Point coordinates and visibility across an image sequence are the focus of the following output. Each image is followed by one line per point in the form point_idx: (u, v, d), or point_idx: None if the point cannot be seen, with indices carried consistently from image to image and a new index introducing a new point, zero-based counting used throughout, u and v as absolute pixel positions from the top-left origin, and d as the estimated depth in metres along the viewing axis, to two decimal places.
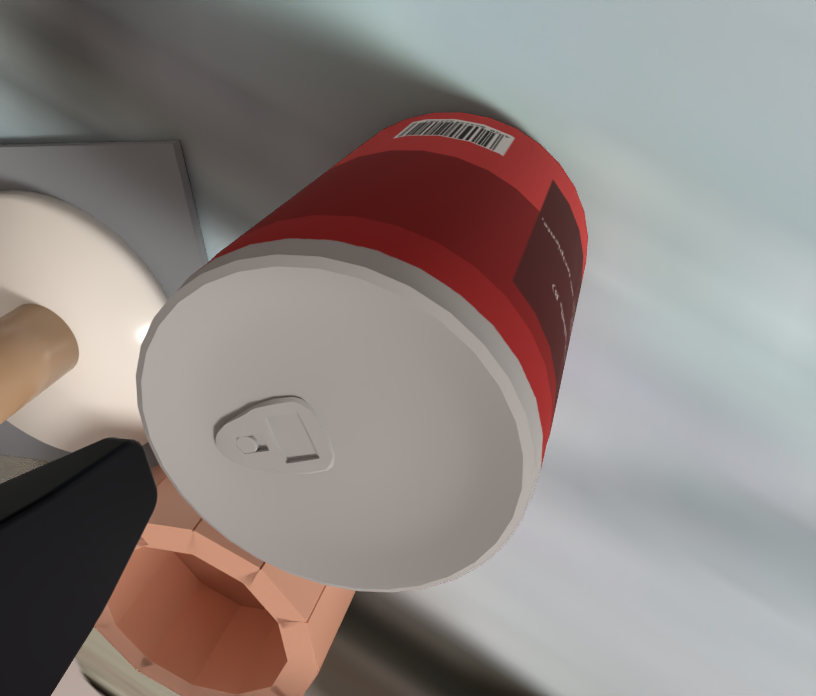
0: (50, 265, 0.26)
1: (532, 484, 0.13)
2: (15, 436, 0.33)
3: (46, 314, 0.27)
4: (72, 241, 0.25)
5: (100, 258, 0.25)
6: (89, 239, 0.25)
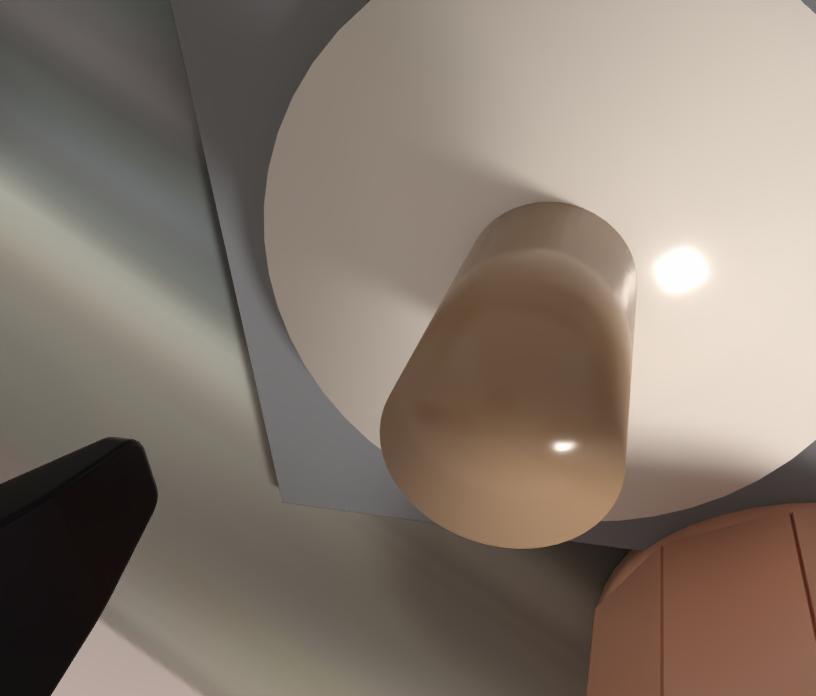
0: (648, 101, 0.11)
1: None
2: (356, 476, 0.18)
3: (598, 223, 0.12)
4: (749, 29, 0.10)
5: None
6: (804, 20, 0.10)
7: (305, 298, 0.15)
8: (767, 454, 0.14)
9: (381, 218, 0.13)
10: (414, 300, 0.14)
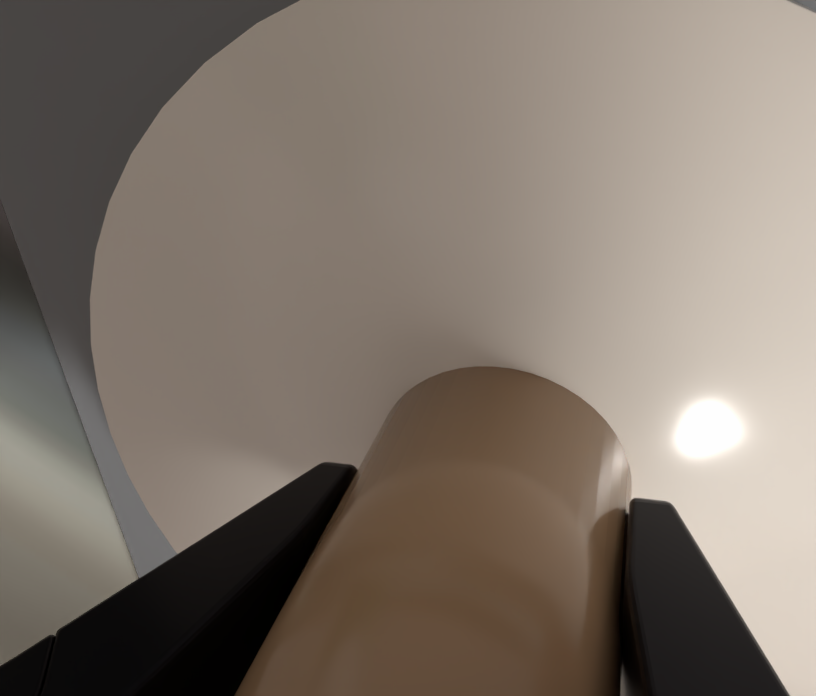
0: (648, 231, 0.07)
1: None
2: None
3: (569, 407, 0.08)
4: None
5: None
6: None
7: (162, 466, 0.10)
8: None
9: (253, 372, 0.09)
10: None
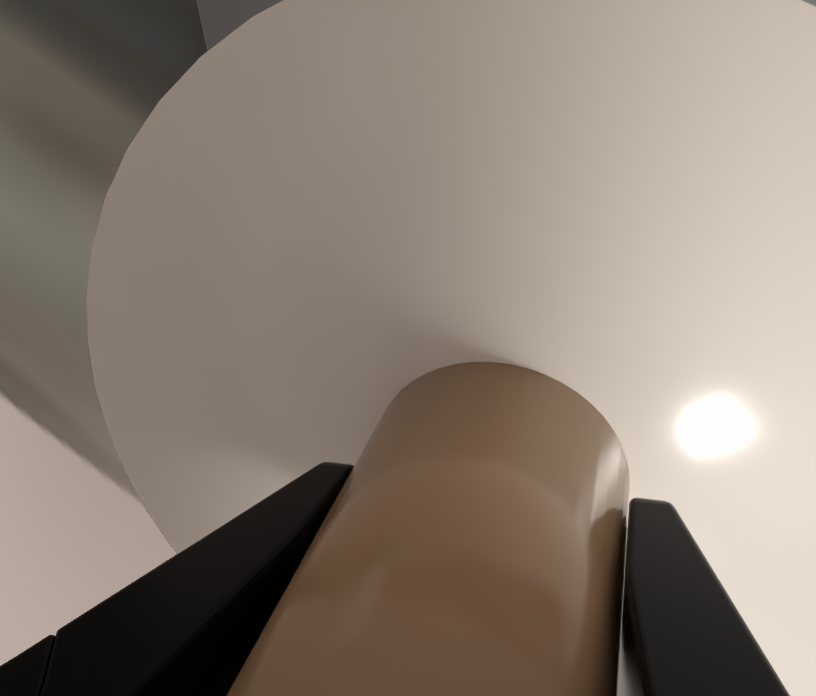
0: (645, 225, 0.07)
1: None
2: None
3: (566, 402, 0.08)
4: None
5: None
6: None
7: (160, 462, 0.10)
8: None
9: (250, 368, 0.09)
10: None
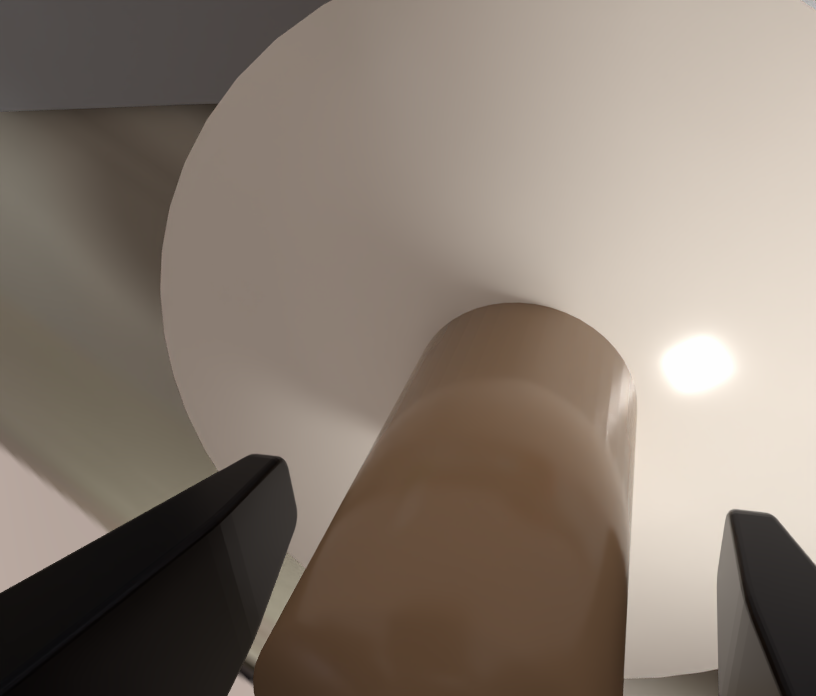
0: (652, 179, 0.08)
1: None
2: (53, 51, 0.16)
3: (584, 335, 0.09)
4: (795, 86, 0.07)
5: None
6: None
7: (220, 404, 0.12)
8: None
9: (306, 314, 0.10)
10: (353, 413, 0.11)
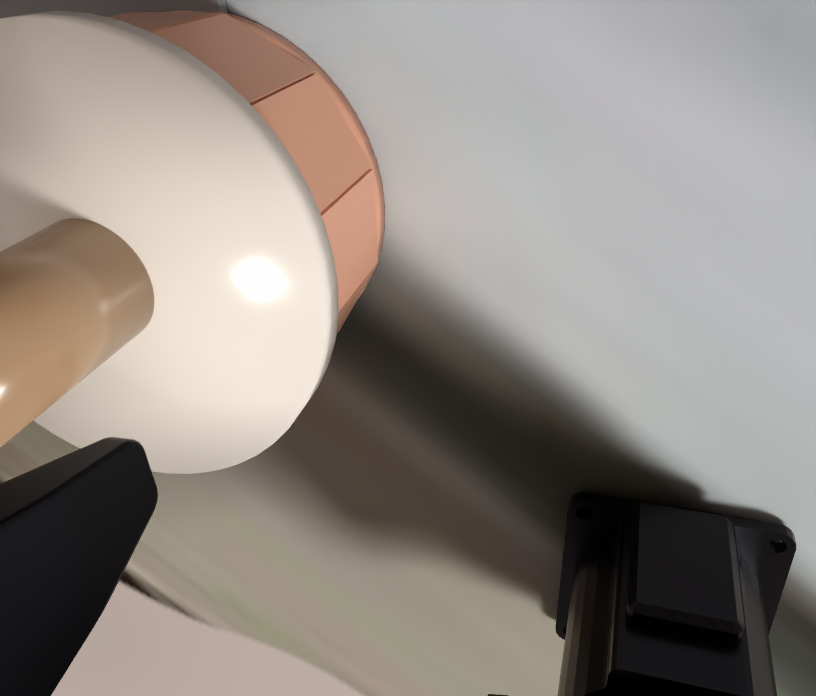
0: (120, 149, 0.15)
1: None
2: None
3: (105, 237, 0.16)
4: (168, 103, 0.14)
5: (219, 137, 0.14)
6: (201, 99, 0.14)
7: None
8: (272, 423, 0.17)
9: None
10: None
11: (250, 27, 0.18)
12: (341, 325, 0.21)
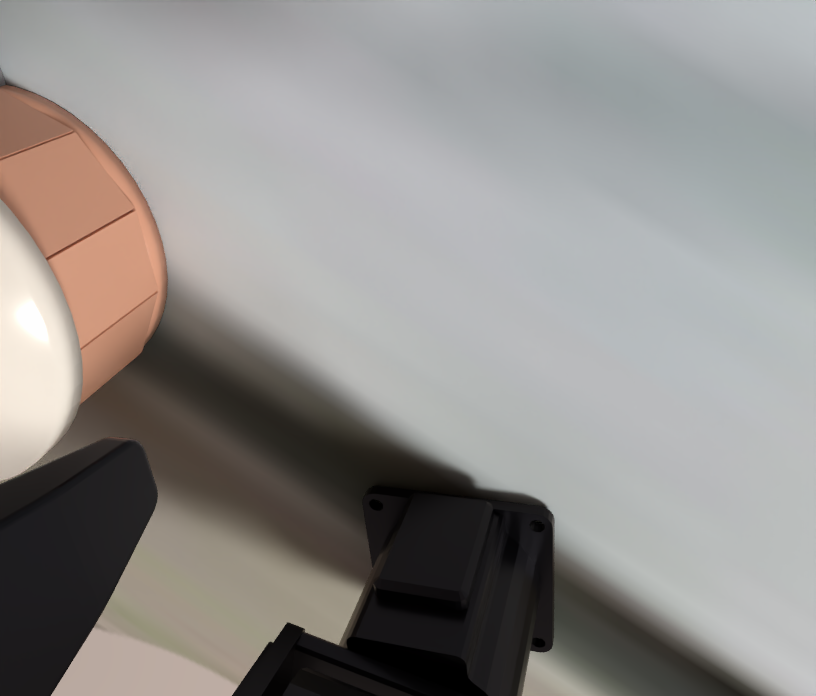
0: None
1: None
2: None
3: None
4: None
5: None
6: None
7: None
8: (38, 434, 0.20)
9: None
10: None
11: (19, 96, 0.22)
12: (138, 347, 0.24)
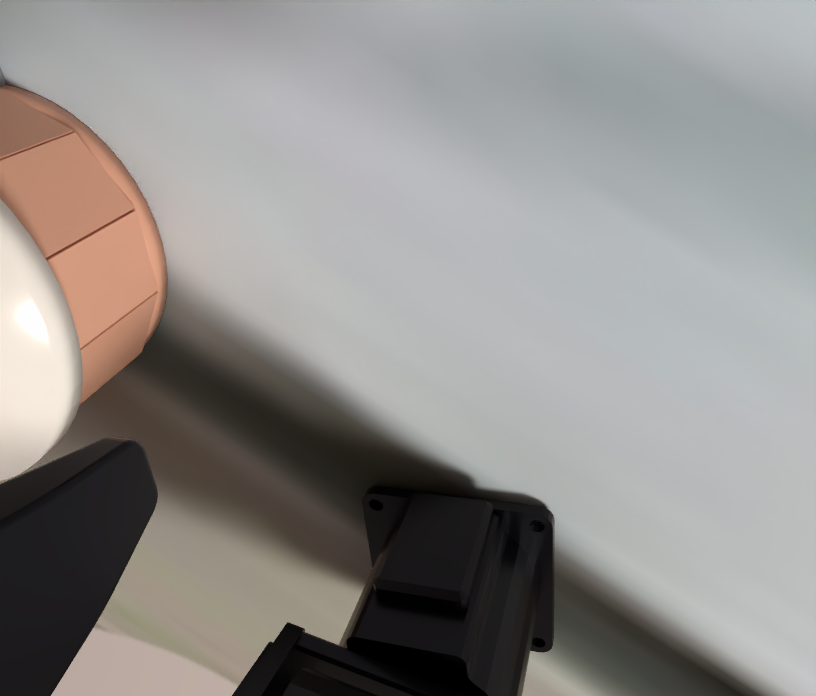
0: None
1: None
2: None
3: None
4: None
5: None
6: None
7: None
8: (38, 434, 0.20)
9: None
10: None
11: (19, 96, 0.22)
12: (138, 347, 0.24)
